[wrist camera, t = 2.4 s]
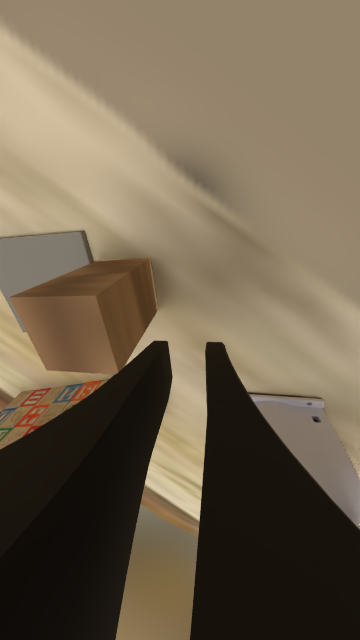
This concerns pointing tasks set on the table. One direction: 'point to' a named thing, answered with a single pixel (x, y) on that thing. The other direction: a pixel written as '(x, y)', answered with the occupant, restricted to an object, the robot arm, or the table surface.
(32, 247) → the slate mat
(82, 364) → the walnut block
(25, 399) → the stack of blocks
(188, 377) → the table surface
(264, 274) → the table surface
